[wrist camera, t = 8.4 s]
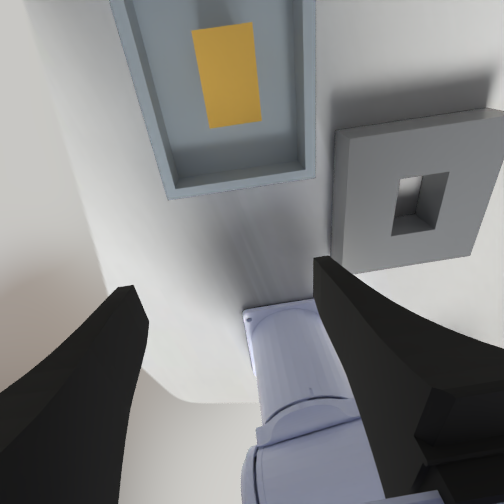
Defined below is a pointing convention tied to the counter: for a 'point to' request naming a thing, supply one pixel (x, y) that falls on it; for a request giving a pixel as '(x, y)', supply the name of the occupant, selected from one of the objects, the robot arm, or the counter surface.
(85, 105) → the counter surface
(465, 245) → the socket block
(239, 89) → the block
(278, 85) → the parts tray
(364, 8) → the counter surface
